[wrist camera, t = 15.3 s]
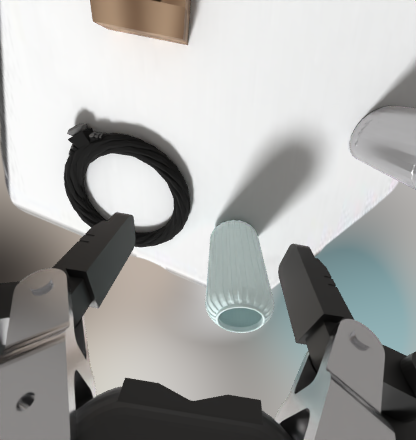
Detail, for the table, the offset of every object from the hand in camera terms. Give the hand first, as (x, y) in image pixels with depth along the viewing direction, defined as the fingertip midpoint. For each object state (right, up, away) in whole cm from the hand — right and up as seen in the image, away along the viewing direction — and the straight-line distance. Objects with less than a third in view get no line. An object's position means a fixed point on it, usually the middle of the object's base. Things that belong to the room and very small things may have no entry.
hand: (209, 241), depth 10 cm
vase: (+6, -2, +39) cm, 40 cm away
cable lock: (-18, +8, +35) cm, 40 cm away
